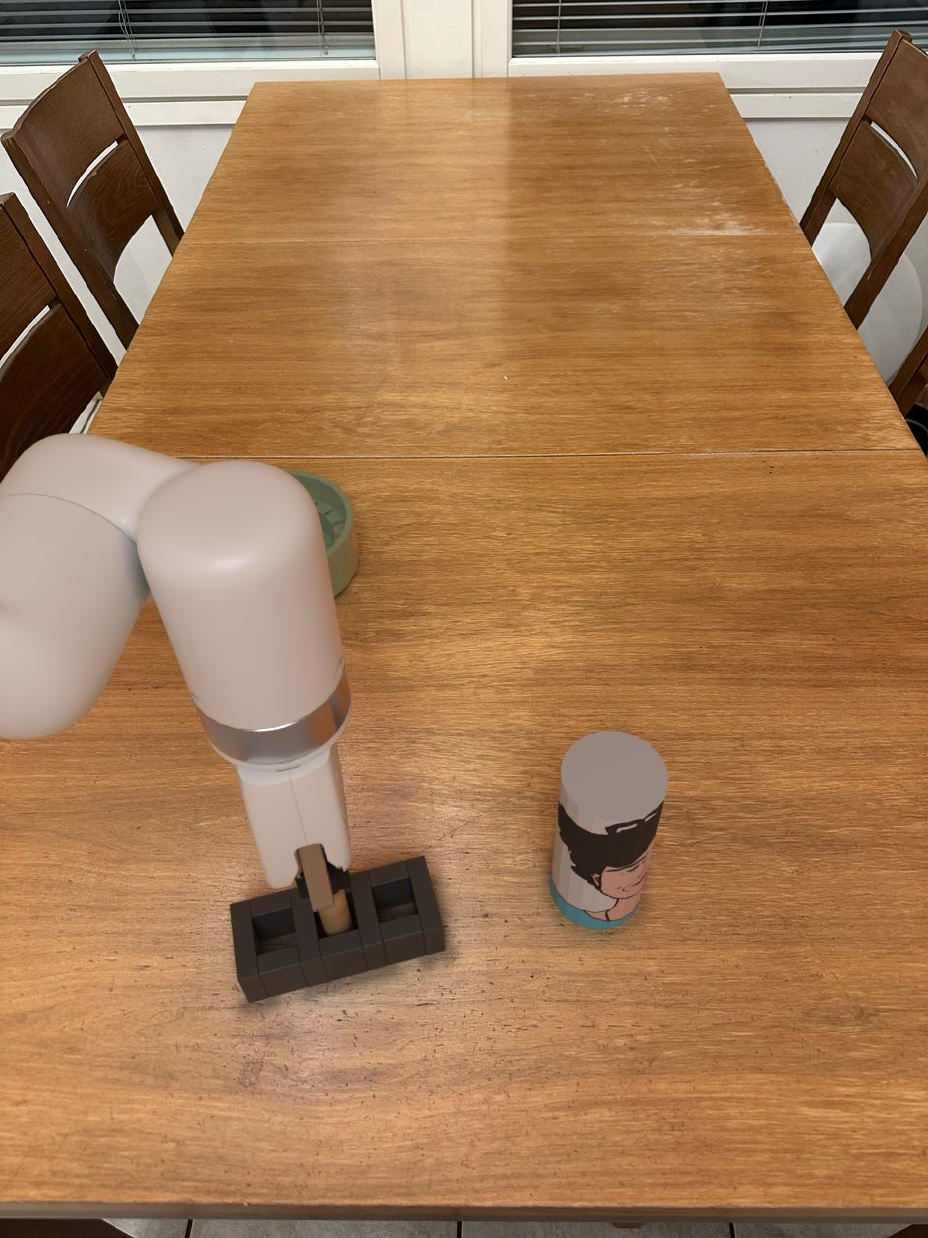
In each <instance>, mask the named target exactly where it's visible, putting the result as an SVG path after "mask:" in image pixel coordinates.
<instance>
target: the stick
mask: <svg viewBox="0 0 928 1238" xmlns="http://www.w3.org/2000/svg"><path fill="white" fill-rule="evenodd" d="M333 897H334V903H335V907H332V908H328V909H324V910H320V911H319V915H320V918H321V921H322V925H323V926H322V928H323V932H324V934H325V938H326V937H330V936H333V935H337V934H341V933H345V932H349V931H352V930H355V928H354V924H353V920H352V918H351V916H350V912H349V908H348V904H347V900H346V896H345V892H344V889H341V890H339V891H338V893H337V894H335V895H333Z"/></svg>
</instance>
